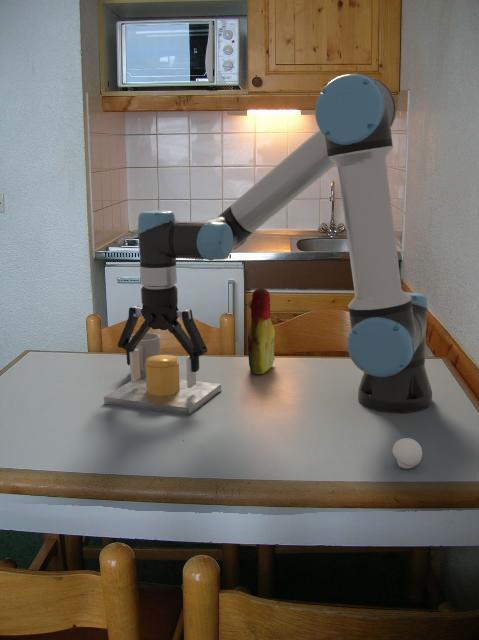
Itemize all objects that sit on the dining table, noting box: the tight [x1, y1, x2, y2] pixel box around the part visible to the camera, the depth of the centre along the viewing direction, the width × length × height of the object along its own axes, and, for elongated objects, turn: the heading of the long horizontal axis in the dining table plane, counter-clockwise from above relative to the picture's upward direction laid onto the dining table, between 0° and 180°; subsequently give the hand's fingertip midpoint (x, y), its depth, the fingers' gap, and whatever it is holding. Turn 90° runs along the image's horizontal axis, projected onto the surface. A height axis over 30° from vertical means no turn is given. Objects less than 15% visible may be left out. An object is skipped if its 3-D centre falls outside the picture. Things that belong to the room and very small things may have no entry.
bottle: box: [247, 287, 276, 375], centre depth 175 cm, size 12×6×20 cm, turn 167°
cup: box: [129, 332, 162, 376], centre depth 175 cm, size 7×10×9 cm
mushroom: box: [391, 437, 423, 470], centre depth 123 cm, size 5×5×5 cm
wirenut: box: [145, 354, 180, 396], centre depth 159 cm, size 7×7×7 cm
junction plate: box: [103, 375, 222, 416], centre depth 159 cm, size 20×16×6 cm
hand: (163, 382), depth 159 cm, fingers open, 13 cm apart
